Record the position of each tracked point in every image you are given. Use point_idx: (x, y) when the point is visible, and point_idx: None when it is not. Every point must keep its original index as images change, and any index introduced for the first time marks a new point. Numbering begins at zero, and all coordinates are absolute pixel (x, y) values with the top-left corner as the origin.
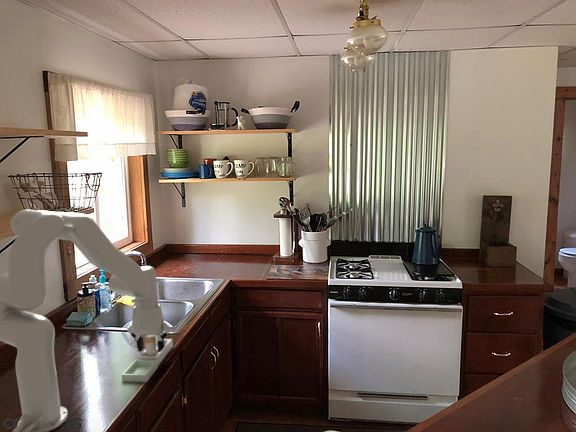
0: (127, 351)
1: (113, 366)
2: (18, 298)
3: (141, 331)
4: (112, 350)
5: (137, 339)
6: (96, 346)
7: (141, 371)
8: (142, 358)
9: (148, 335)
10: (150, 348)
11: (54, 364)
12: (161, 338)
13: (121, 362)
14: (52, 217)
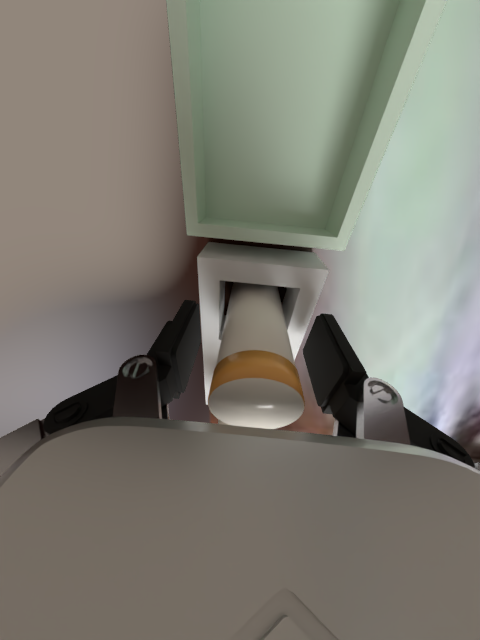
0: (367, 368)
1: (453, 254)
2: None
3: (384, 537)
4: (424, 378)
5: (370, 391)
6: (475, 401)
7: (281, 136)
8: (295, 264)
9: (275, 425)
10: (246, 317)
11: None
12: (119, 377)
13: (401, 293)
14: None
